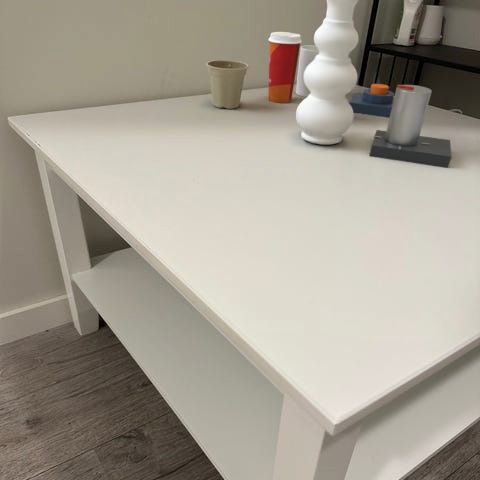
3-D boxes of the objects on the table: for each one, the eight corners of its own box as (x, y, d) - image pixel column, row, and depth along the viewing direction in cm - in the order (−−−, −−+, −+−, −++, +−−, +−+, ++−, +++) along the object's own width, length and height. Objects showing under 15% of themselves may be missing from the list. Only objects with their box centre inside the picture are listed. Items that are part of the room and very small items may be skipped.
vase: (292, 129, 99) (308, -18, 83) (345, 133, 99) (371, -14, 83) (294, 147, 90) (312, -14, 75) (352, 151, 90) (382, -10, 75)
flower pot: (253, 105, 113) (256, 64, 107) (232, 113, 106) (234, 70, 101) (220, 98, 116) (221, 58, 111) (198, 106, 110) (197, 64, 104)
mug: (295, 97, 120) (301, 49, 114) (295, 89, 126) (300, 44, 120) (344, 100, 120) (352, 53, 113) (341, 92, 126) (348, 47, 120)
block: (401, 108, 116) (406, 90, 114) (399, 119, 109) (404, 100, 106) (352, 102, 119) (355, 84, 116) (347, 112, 111) (350, 93, 109)
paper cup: (278, 94, 122) (284, 30, 113) (301, 101, 117) (309, 35, 109) (257, 98, 117) (261, 32, 108) (280, 106, 113) (286, 38, 104)
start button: (387, 93, 113) (389, 85, 112) (386, 97, 110) (388, 88, 109) (370, 91, 114) (372, 83, 113) (368, 94, 111) (370, 86, 110)
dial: (418, 138, 92) (432, 85, 86) (417, 147, 87) (432, 92, 81) (386, 133, 93) (398, 81, 87) (383, 143, 88) (396, 88, 83)
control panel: (447, 150, 93) (450, 138, 92) (448, 167, 85) (452, 155, 84) (374, 139, 96) (376, 128, 95) (368, 156, 88) (371, 144, 87)
